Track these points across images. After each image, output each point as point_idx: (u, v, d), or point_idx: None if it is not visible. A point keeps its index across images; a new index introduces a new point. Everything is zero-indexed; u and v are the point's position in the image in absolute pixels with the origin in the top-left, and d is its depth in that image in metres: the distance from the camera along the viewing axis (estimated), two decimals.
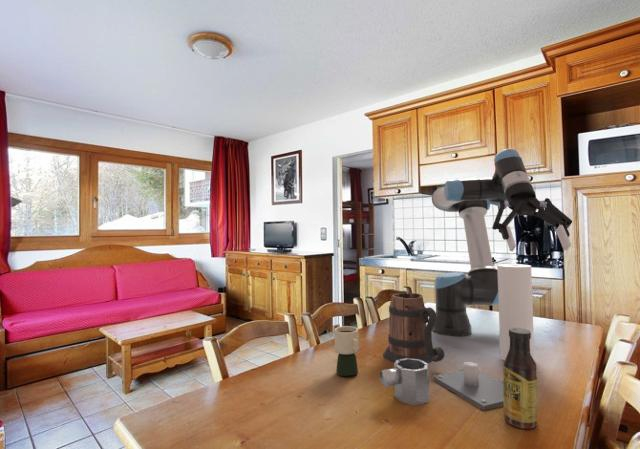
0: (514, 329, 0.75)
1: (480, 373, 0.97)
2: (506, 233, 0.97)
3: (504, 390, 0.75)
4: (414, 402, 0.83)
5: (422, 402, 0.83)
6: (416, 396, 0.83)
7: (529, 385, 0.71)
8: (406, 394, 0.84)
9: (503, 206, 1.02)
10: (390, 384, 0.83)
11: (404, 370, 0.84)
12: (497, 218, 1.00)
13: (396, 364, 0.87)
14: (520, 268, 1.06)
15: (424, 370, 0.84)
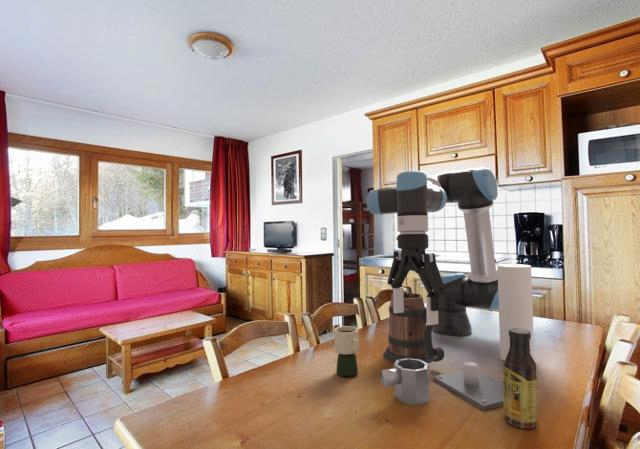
0: (514, 329, 0.75)
1: (480, 373, 0.97)
2: None
3: (504, 390, 0.75)
4: (414, 402, 0.83)
5: (422, 402, 0.83)
6: (416, 396, 0.83)
7: (529, 385, 0.71)
8: (406, 394, 0.84)
9: (394, 261, 0.93)
10: (390, 384, 0.83)
11: (404, 370, 0.84)
12: (389, 276, 0.95)
13: (396, 364, 0.87)
14: (520, 268, 1.06)
15: (424, 370, 0.84)
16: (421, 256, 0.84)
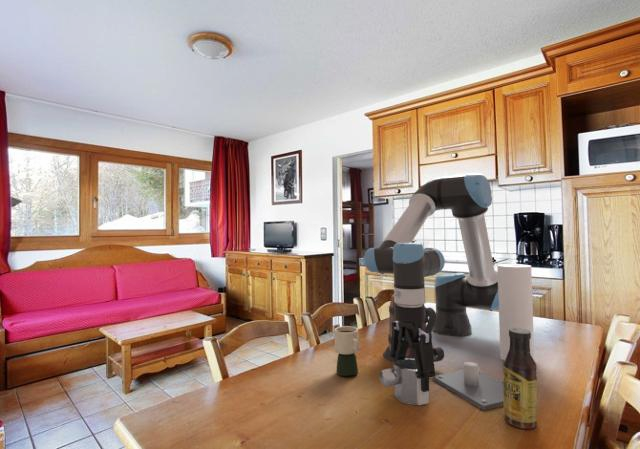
0: (514, 329, 0.75)
1: (480, 373, 0.97)
2: None
3: (504, 390, 0.75)
4: (414, 402, 0.83)
5: None
6: (416, 396, 0.83)
7: (529, 385, 0.71)
8: (406, 394, 0.84)
9: (393, 332, 0.92)
10: (390, 384, 0.83)
11: (404, 370, 0.84)
12: (391, 349, 0.93)
13: (396, 364, 0.87)
14: (520, 268, 1.06)
15: None
16: (418, 332, 0.83)
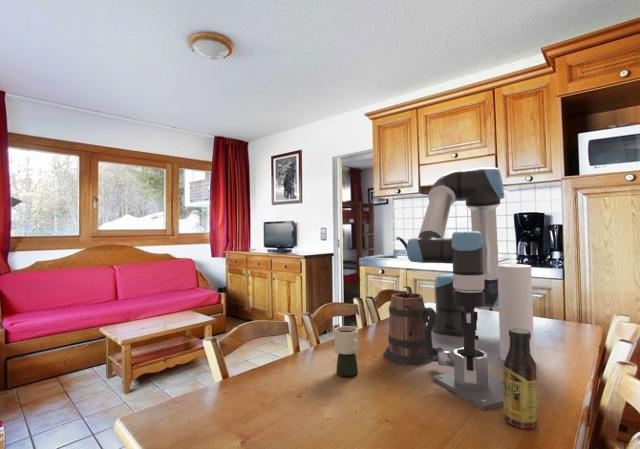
0: (514, 329, 0.75)
1: None
2: None
3: (504, 390, 0.75)
4: (462, 385, 0.89)
5: (471, 389, 0.88)
6: (464, 381, 0.88)
7: (529, 385, 0.71)
8: (457, 377, 0.90)
9: None
10: (441, 363, 0.93)
11: (455, 354, 0.91)
12: None
13: (456, 349, 0.94)
14: (520, 268, 1.06)
15: None
16: (465, 315, 0.88)
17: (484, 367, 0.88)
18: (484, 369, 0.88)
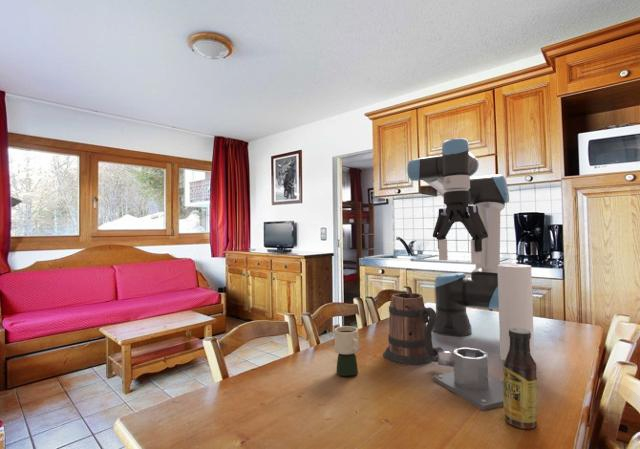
0: (514, 329, 0.75)
1: None
2: None
3: (504, 390, 0.75)
4: (462, 385, 0.89)
5: (471, 389, 0.88)
6: (464, 381, 0.88)
7: (529, 385, 0.71)
8: (457, 377, 0.90)
9: (439, 216, 1.10)
10: (441, 363, 0.93)
11: (455, 354, 0.91)
12: (434, 230, 1.13)
13: (456, 349, 0.94)
14: (520, 268, 1.06)
15: (474, 359, 0.87)
16: (465, 208, 1.01)
17: (484, 367, 0.88)
18: (484, 369, 0.88)
